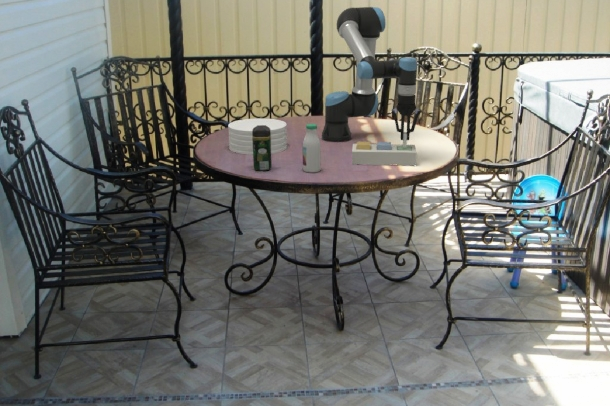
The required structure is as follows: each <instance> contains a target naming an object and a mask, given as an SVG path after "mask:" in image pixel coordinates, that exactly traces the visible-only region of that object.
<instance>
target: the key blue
mask: <svg viewBox="0 0 610 406" xmlns="http://www.w3.org/2000/svg"><path fill="white" fill-rule="evenodd" d="M376 144H377V150H391V144H392V143H391V141H377V142H376Z"/></svg>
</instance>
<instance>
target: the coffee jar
mask: <svg viewBox="0 0 610 406" xmlns="http://www.w3.org/2000/svg"><path fill="white" fill-rule="evenodd" d="M252 141H253V155H252V157H253V158H252V160H253V169H254V170H255V171H260V172H264V171H270V170H271V169H272V166H273V165H272V154H271V133H270V128H269V127H267V126H266V125H258V126H256V127H254V128H253V130H252Z"/></svg>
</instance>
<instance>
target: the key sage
mask: <svg viewBox="0 0 610 406" xmlns="http://www.w3.org/2000/svg"><path fill="white" fill-rule="evenodd" d="M397 150H412V149H411V146H406V148H403V146H397Z"/></svg>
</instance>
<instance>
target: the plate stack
mask: <svg viewBox="0 0 610 406" xmlns="http://www.w3.org/2000/svg"><path fill="white" fill-rule="evenodd" d="M258 125H266V126H267V127H269V128H270V133H271V155H272V154H278V153H281V152H283V151H285V150H286V149H287V148H288V144H287V142H288V136H287V131H288V130H287V126H288V125H287V123H286V121H283V120H280V119H273V118H260V117H259V118H246V119H245V118H243V119H239V120H234V121H232V122H230V123H228V125H227V126H228V127H227V128H228V147H229V148H228V150H230V151H231V152H233V153H235V152H236V154H241V155H248V156H249V155H250V156H251V155H252V156H253V141H252V130H253V128H254V127H256V126H258Z"/></svg>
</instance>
